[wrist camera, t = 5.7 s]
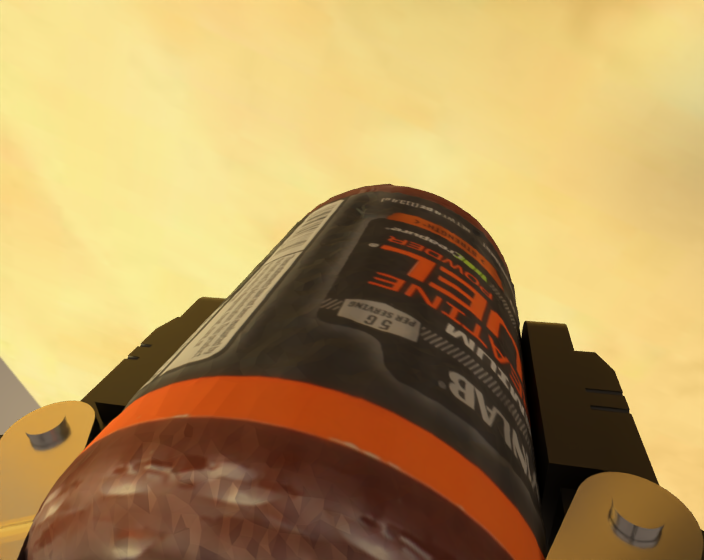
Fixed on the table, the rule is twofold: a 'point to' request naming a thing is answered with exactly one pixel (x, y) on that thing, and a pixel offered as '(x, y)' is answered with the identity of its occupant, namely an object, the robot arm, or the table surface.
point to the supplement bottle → (327, 409)
